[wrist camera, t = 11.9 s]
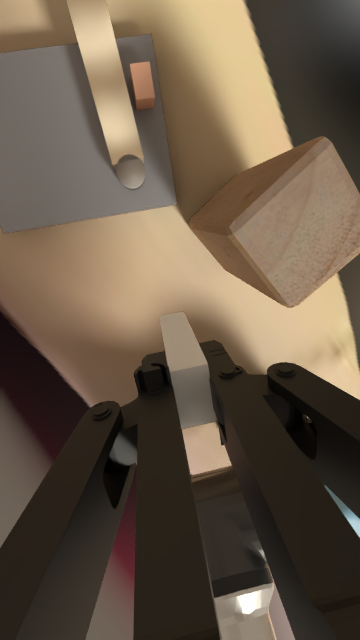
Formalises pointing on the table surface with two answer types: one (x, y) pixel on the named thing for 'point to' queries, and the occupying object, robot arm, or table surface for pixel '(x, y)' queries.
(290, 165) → the wooden block
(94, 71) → the folding leg
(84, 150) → the stool seat
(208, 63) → the table surface
